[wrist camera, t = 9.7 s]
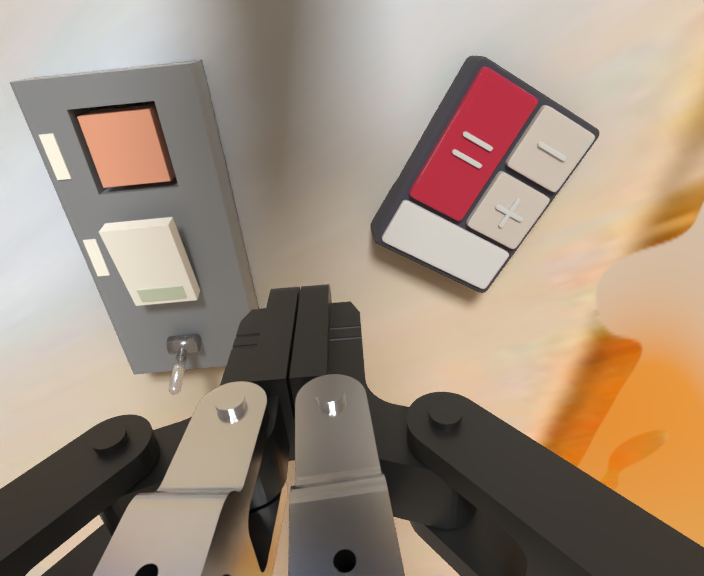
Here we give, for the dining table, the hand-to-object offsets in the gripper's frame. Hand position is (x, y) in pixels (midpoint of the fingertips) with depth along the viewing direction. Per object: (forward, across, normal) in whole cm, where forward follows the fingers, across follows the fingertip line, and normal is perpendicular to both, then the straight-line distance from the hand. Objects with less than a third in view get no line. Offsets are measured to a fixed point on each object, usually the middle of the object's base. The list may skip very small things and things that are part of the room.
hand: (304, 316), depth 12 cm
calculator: (+27, -12, +5) cm, 30 cm away
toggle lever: (+23, +14, +16) cm, 32 cm away
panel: (+26, +14, +8) cm, 31 cm away
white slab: (+23, +14, +8) cm, 28 cm away
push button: (+26, +14, 0) cm, 30 cm away
